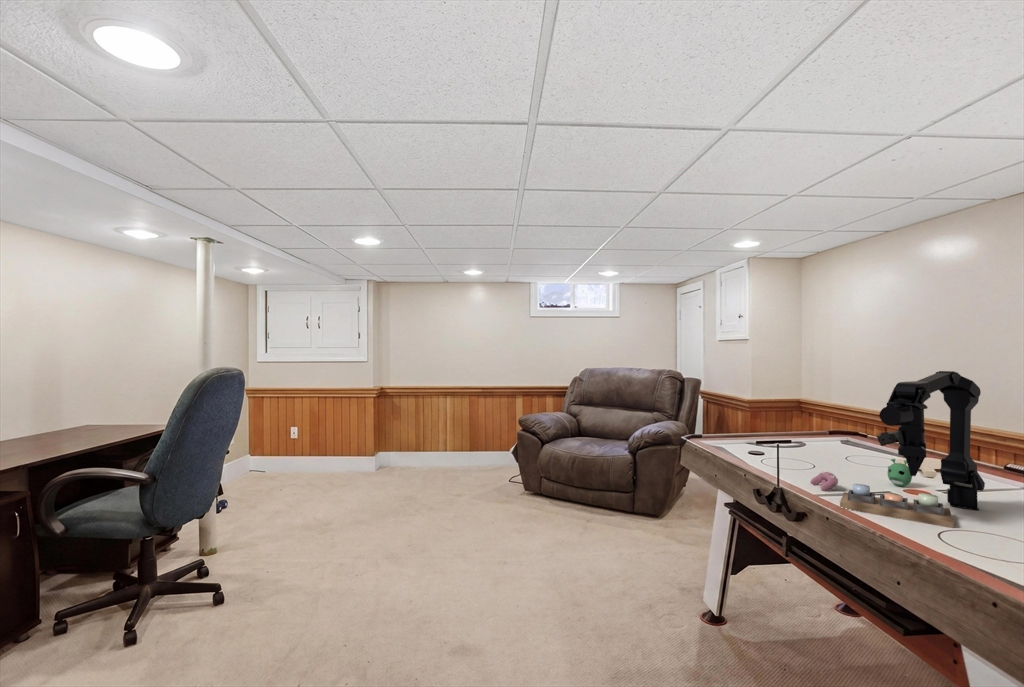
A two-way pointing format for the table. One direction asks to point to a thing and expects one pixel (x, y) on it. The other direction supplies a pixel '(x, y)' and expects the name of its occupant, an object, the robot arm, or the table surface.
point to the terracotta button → (893, 497)
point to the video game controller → (825, 480)
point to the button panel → (898, 509)
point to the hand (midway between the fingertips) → (913, 475)
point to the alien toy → (899, 473)
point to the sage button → (928, 499)
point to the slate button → (861, 490)
